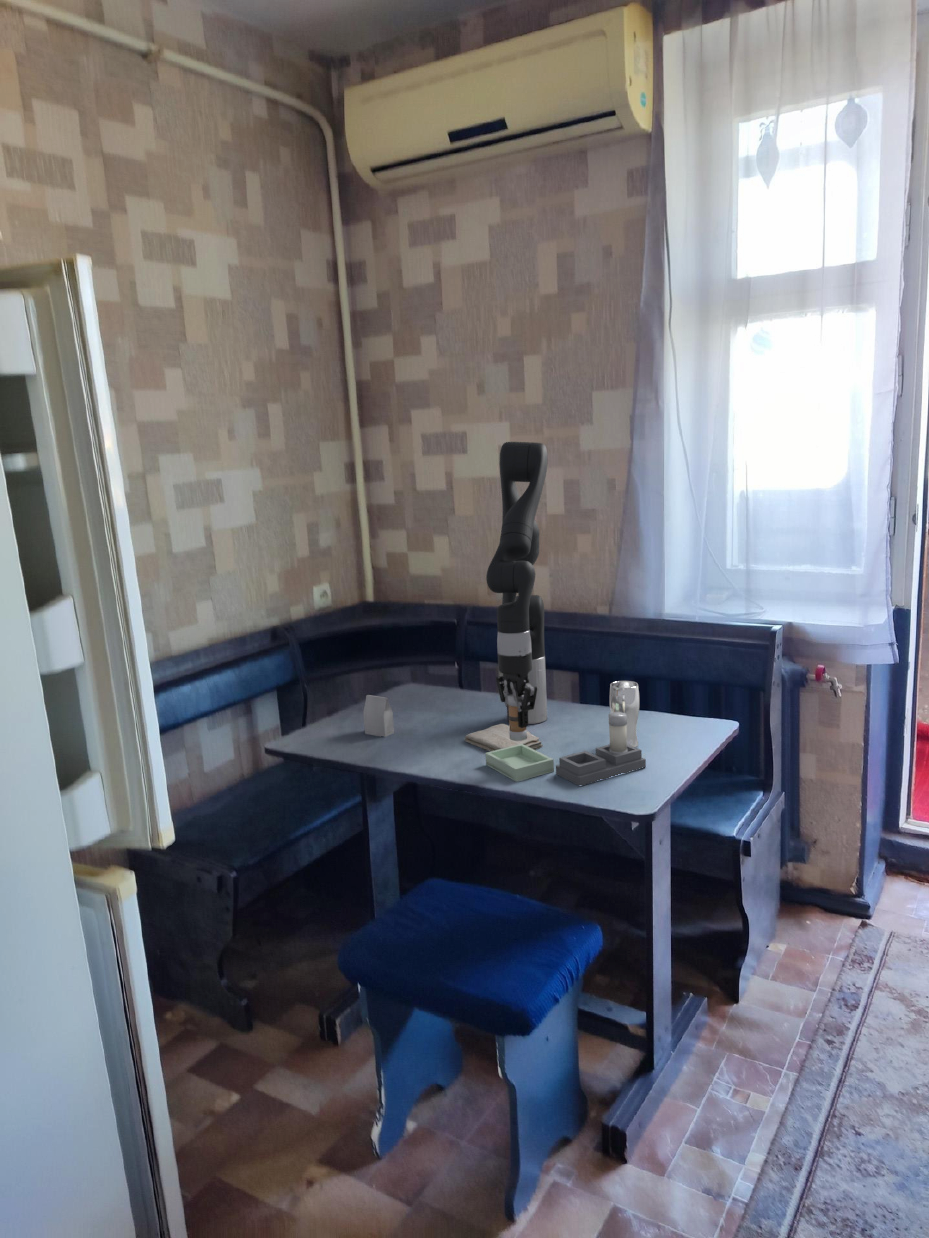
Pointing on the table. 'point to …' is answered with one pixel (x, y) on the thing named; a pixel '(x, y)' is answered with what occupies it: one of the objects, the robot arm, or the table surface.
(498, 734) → the washcloth
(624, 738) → the fuse
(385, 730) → the tea bag
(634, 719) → the beer glass
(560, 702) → the table surface
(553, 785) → the table surface
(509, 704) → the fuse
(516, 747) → the parts tray
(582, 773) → the fuse block
